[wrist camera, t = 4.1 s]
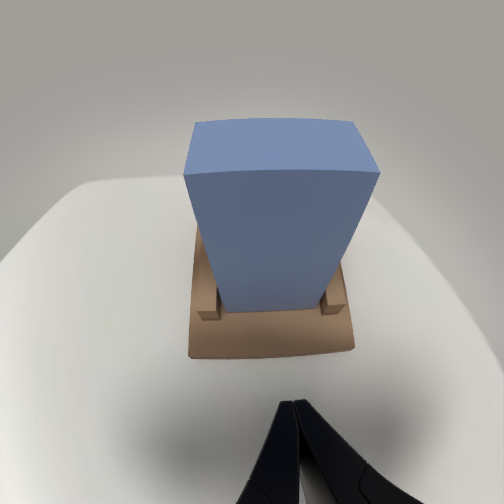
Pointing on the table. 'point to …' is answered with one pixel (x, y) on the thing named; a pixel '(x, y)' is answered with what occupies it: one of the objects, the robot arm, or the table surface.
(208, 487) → the table surface
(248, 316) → the housing
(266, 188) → the blue rectangular block
